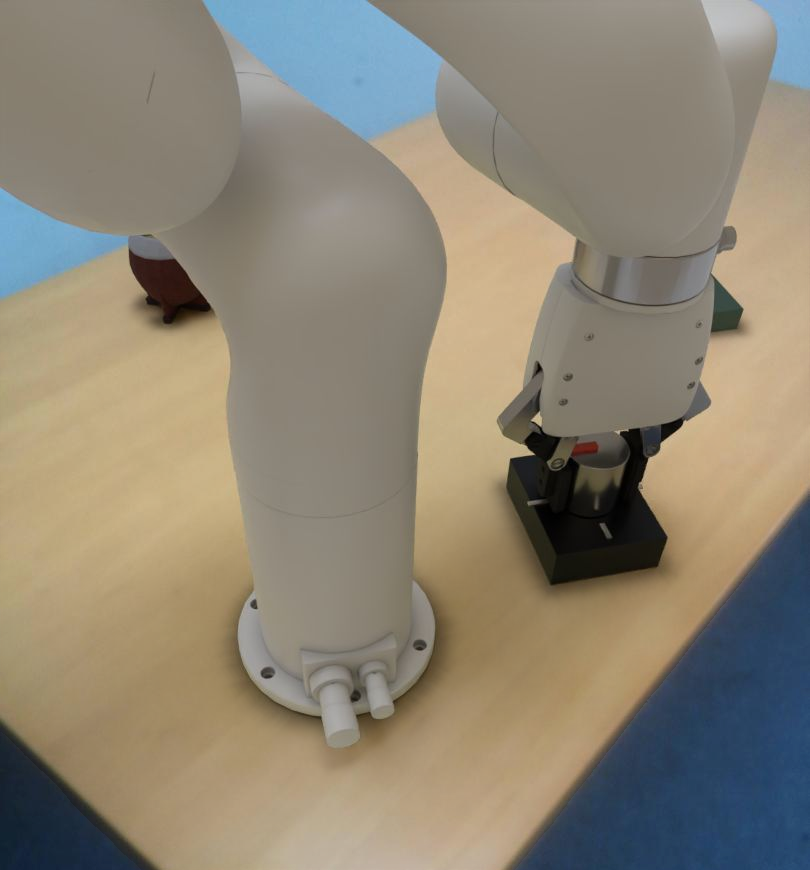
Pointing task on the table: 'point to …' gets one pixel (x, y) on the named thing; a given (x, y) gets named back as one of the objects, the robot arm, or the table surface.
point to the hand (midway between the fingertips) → (586, 491)
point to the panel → (584, 531)
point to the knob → (597, 473)
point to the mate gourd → (163, 277)
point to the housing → (724, 309)
